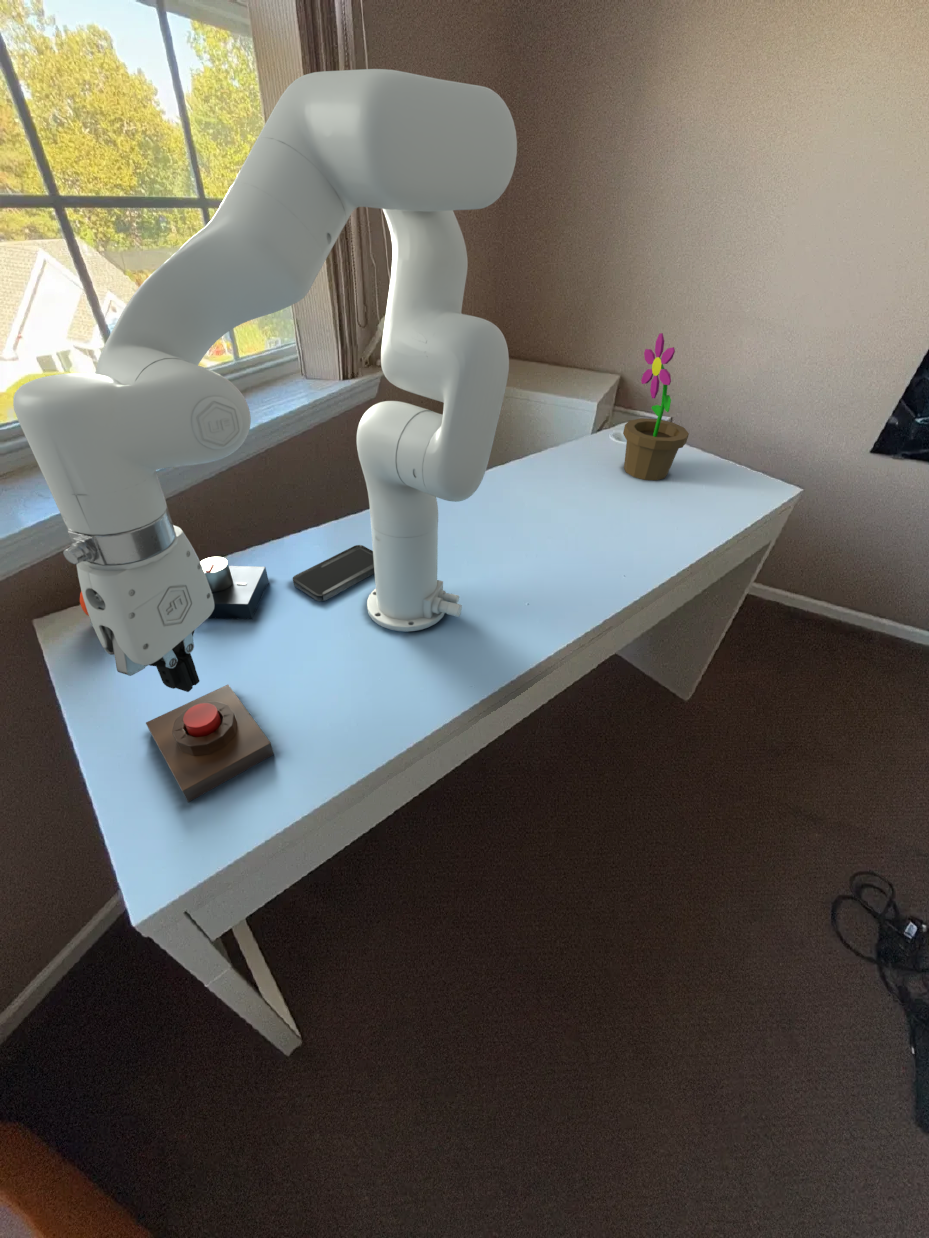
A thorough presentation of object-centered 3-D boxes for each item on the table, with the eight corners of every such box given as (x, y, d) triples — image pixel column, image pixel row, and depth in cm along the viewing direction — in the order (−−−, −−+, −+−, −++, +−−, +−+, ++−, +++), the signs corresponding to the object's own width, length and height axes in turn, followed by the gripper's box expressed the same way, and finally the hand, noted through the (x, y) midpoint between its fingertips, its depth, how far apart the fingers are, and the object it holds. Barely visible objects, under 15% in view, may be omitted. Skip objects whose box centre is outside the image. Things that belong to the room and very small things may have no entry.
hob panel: (268, 581, 91) (265, 565, 89) (252, 619, 83) (247, 603, 81) (195, 579, 90) (190, 563, 88) (171, 618, 83) (165, 601, 81)
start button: (226, 726, 63) (222, 716, 62) (194, 742, 61) (190, 732, 60) (213, 708, 65) (209, 698, 64) (182, 723, 63) (178, 713, 62)
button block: (274, 754, 64) (267, 732, 62) (188, 802, 59) (177, 781, 57) (232, 695, 71) (224, 674, 69) (151, 734, 66) (140, 712, 63)
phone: (388, 560, 95) (319, 597, 86) (389, 565, 96) (320, 603, 87) (358, 543, 99) (289, 577, 90) (359, 548, 100) (290, 583, 90)
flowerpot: (605, 460, 136) (634, 326, 116) (657, 457, 139) (693, 326, 119) (632, 486, 125) (669, 343, 106) (687, 482, 128) (733, 342, 109)
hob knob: (207, 575, 86) (201, 554, 84) (236, 575, 87) (230, 555, 84) (198, 591, 83) (191, 571, 81) (228, 591, 83) (222, 571, 81)
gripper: (86, 589, 40) (159, 746, 52) (219, 504, 51) (255, 649, 63) (8, 567, 42) (96, 724, 53) (154, 489, 53) (201, 633, 65)
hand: (182, 683), depth 58 cm, fingers closed
